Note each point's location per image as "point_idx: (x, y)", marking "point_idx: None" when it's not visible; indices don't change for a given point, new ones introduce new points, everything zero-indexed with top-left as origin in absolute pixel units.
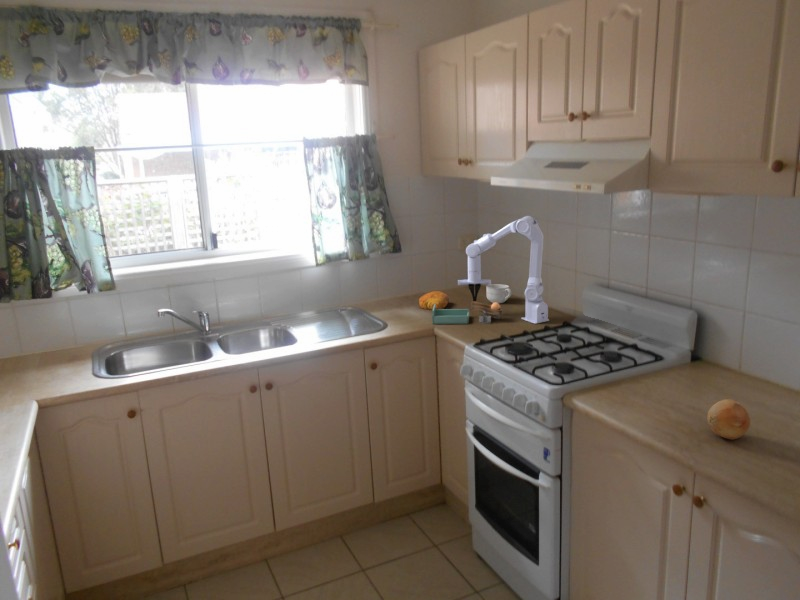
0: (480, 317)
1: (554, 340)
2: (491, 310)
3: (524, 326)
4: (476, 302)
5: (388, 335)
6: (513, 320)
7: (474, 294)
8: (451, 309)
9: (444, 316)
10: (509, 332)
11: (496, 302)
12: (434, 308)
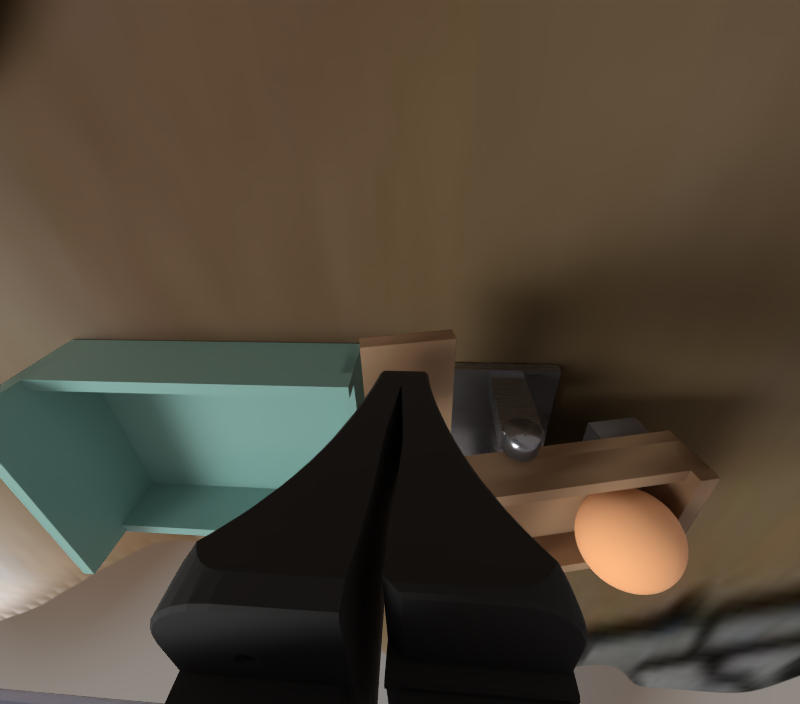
0: (462, 408)
1: (764, 672)
2: (563, 559)
3: (732, 546)
4: (429, 346)
5: (44, 585)
6: (723, 446)
7: (391, 416)
8: (175, 392)
9: (199, 533)
10: (599, 602)
11: (662, 586)
12: (58, 524)
